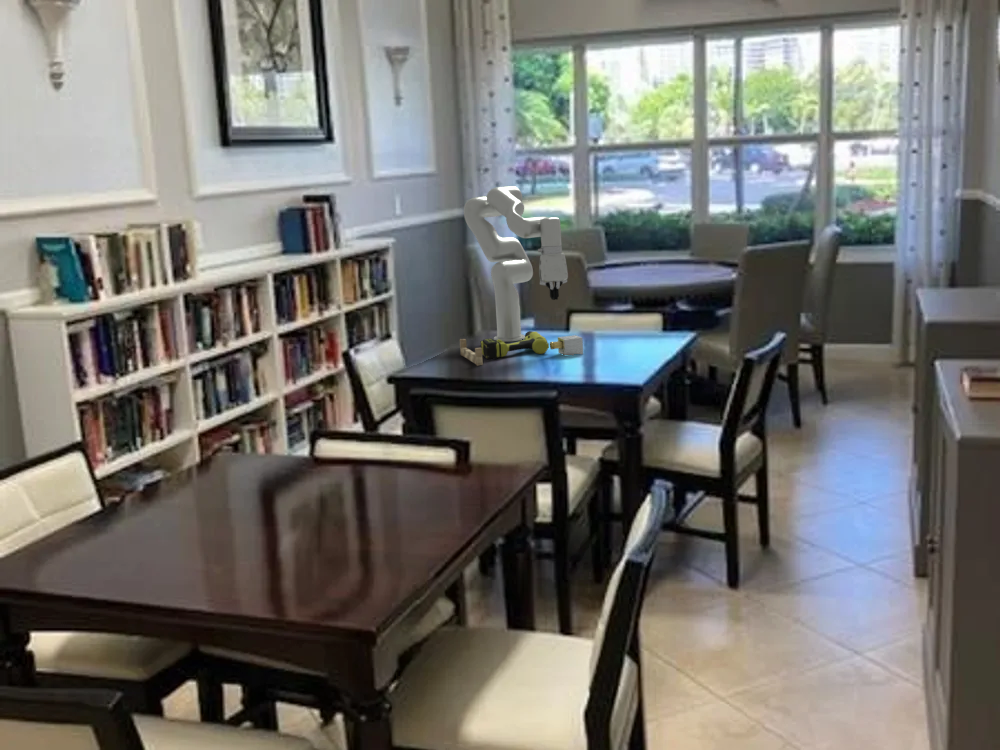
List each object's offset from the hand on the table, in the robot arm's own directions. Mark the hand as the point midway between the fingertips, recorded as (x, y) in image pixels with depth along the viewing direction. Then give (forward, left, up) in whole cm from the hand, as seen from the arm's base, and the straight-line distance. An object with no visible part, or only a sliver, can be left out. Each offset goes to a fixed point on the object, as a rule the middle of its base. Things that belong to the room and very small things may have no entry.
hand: (554, 299), depth 395 cm
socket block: (+17, -1, -18) cm, 25 cm away
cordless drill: (-1, -18, -19) cm, 26 cm away
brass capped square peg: (+17, -3, -16) cm, 23 cm away
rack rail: (+7, -36, -18) cm, 40 cm away
